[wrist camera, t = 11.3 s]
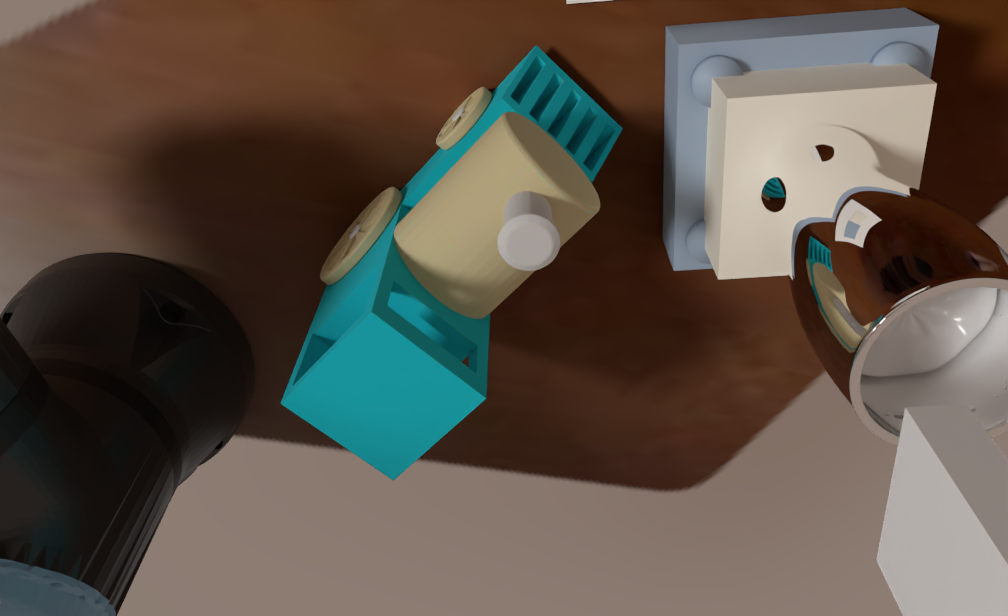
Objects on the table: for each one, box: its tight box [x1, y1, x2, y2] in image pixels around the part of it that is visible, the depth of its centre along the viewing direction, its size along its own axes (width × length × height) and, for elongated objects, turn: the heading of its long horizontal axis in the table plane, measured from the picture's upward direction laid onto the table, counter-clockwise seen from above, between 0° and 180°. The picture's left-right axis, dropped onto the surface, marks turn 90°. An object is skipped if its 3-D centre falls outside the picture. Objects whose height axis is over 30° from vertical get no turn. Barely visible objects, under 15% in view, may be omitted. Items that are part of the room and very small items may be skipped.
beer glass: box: [748, 125, 1008, 446], centre depth 34 cm, size 7×7×15 cm
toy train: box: [280, 45, 623, 480], centre depth 43 cm, size 8×17×15 cm, turn 137°
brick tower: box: [663, 8, 939, 280], centre depth 44 cm, size 12×12×8 cm
